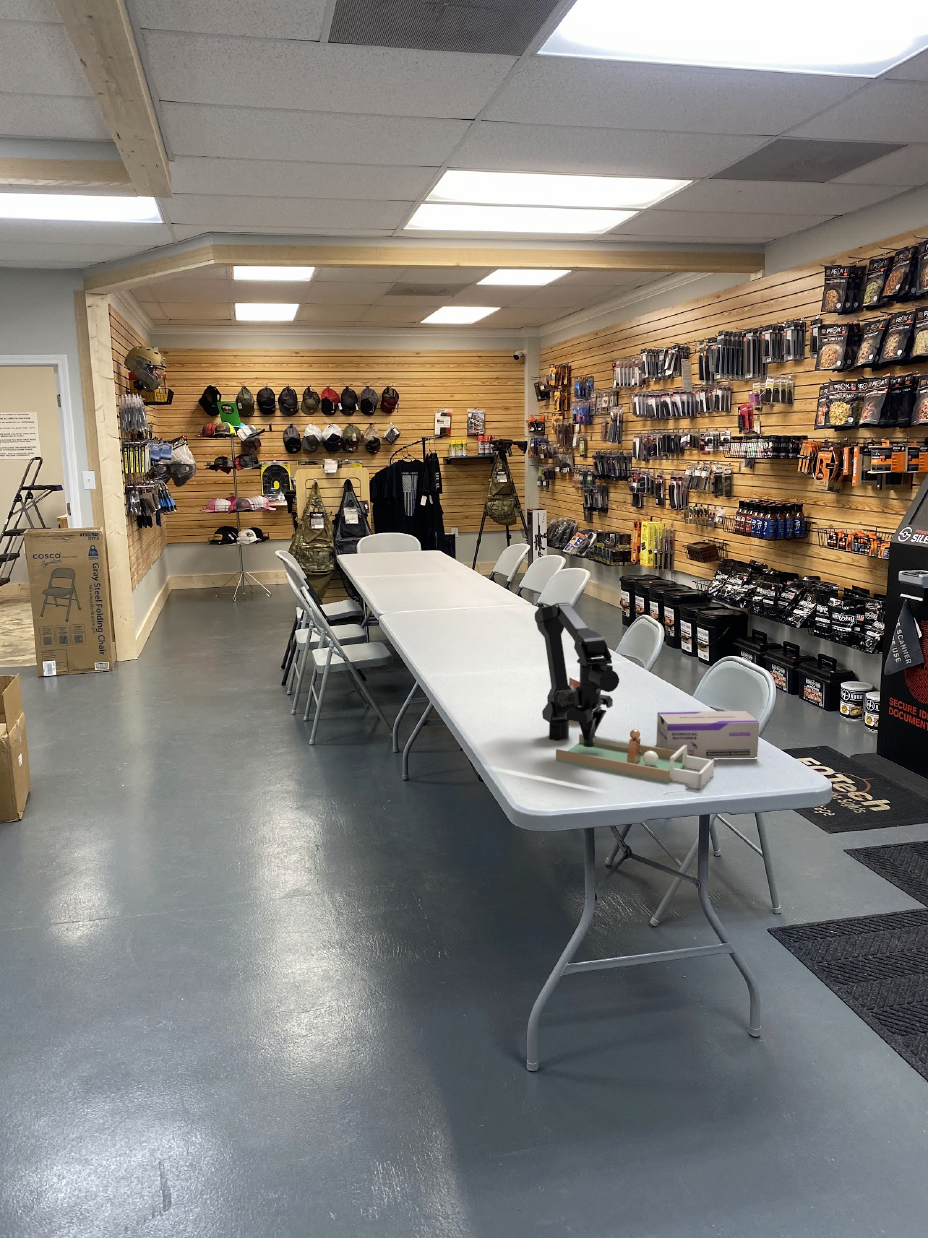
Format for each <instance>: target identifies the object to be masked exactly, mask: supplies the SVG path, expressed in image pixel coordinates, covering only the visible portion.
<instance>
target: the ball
mask: <svg viewBox="0 0 928 1238" xmlns="http://www.w3.org/2000/svg"><path fill="white" fill-rule="evenodd" d="M643 761H644V763H645V764H646V765H648V766H654V765H656V764H657V762H658V755H657V754H656V753H655V752H654V751H647V752H646V753H645V754H644V755H643Z"/></svg>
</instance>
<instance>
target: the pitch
mask: <svg viewBox="0 0 928 1238" xmlns="http://www.w3.org/2000/svg"><path fill="white" fill-rule="evenodd" d="M640 750H641V759H640V760H639V761H638V762H637V763H636V764H633V763H628V762H627V755H628V754H629V749H627V748H621V747H616V746H610V745H604V744H599V743H595V746H594V747H584V746H583V734H582V733H579V735H578V743H577V744H576V745H574V746H572V747H571V748H570V749H568V750H562V749H558V748H557V749H556V750H555V761H556V762H560V763H565V764H570V765H574V766H581V767H585V768H590V769H595V770H600V771H606V772H611V773H616V774H621V775H626V776H631V777H636V778H641V779H647V780H651V781H652V780H653V781H656V782H661V783H667V784H669V783H670V782H671V781H672V780H671V778H669V775H670V770H669V769H670V757H671V756H672V755H674V754H675V753H676V752H677V751H676V750H670V749H664V748H659V747H658V746H651V745H647V744H641V743H640ZM647 751H654V752H655V753H656V754H657V755H658V762H657V764H656V765H654V766H648V765H646V764H645V763H644V761H643V755H644V754H645V753H646V752H647ZM687 755H688V753H687ZM682 764H683V752H682V753H681V754H680V755H679V756H678V757H677V758H676V759H675V760H674V768H677V769H682V770H684V768H685V767H684V765H682Z"/></svg>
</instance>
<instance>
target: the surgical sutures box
mask: <svg viewBox="0 0 928 1238" xmlns="http://www.w3.org/2000/svg"><path fill="white" fill-rule="evenodd" d="M759 734H760V721H758V720H757V719H756V718H755V717H753V716H752V715H751V714H750V713H749V712H748V711H746V710H734V711H733V710H731V711H730V710H729V711H727V710H725V711H724V710H723V711H721V710H718V711H659V712H657V719H656V740H655V741H656V742H655V743H656V747H659V748H664V749H670V750H676V751H678V750H679V749H680V748H681V747H682V746H683V745H687V753H688V756H693V757H699V758H708V757H709V758H711V759H714V758H755V757H757V758H758V751H759V748H758V747H759V736H760V735H759Z"/></svg>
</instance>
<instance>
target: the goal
mask: <svg viewBox="0 0 928 1238" xmlns="http://www.w3.org/2000/svg"><path fill="white" fill-rule="evenodd" d="M682 752H683V764H682V765H684V768H687V769H694V770H698V771H693V770H687V769H677V768H674V760H675V759H676V758H677V757H678V756H679V755H680V754H681V753H682ZM714 769H715V760H711V758H710V759H709V758H706V757H693V756H688V755H687V745H683V746H682V747H681V748H680V749H679V750H678V751H677V752H676V753H675V754H674V755H672V756H671V757H670V769H669V770H670V775H669V778H671V781H674V782H679V783H685V784H686V785H685V786H684V787H686V788H692V789H695V788H697V790H701V789H702V788H703V787H704V786H705V785H706V784H707V783H708V781H709V780H711V778H712V777H713V776H714V772H715V771H714ZM698 772H699V773H698ZM712 775H713V776H712ZM711 776H712V777H711ZM710 777H711V778H710ZM706 782H707V783H706ZM705 783H706V784H705ZM704 784H705V785H704ZM703 785H704V786H703Z"/></svg>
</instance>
